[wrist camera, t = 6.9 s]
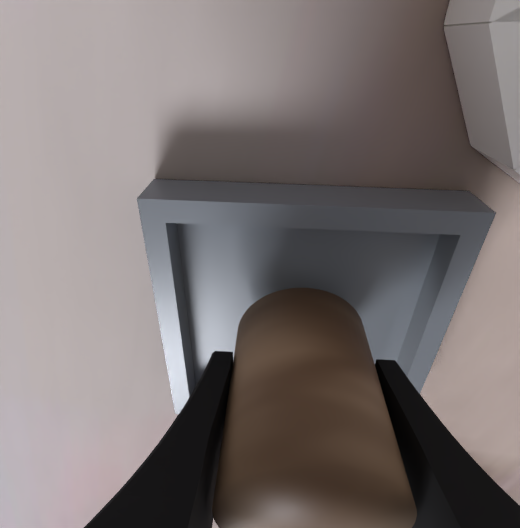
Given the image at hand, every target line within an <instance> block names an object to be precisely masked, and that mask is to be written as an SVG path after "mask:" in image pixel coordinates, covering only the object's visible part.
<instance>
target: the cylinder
mask: <svg viewBox="0 0 520 528" xmlns="http://www.w3.org/2000/svg"><path fill="white" fill-rule="evenodd" d="M212 514H213V518H214V520H215V522H216V523H217V525H218V526H219V528H412V527H413V525H414V523H415V521H416V517H417V509H416V505H415V502H414V498H413V495H412V491H411V488H410V485H409V481H408V478H407V474H406V471H405V467H404V464H403V460H402V457H401V454H400V450H399V447H398V443H397V440H396V436H395V433H394V429H393V426H392V423H391V419H390V416H389V412H388V409H387V405H386V402H385V398H384V395H383V392H382V388H381V385H380V381H379V378H378V374H377V371H376V367H375V364H374V361H373V357H372V354H371V350H370V347H369V343H368V340H367V337H366V333H365V330H364V326H363V323H362V320H361V318H360V316H359V314H358V313H357V311H356V310H355V309H354V308H353V307H352V306H351V305H350V304H349V303H348V302H347V301H345V300H344V299H342V298H341V297H339V296H337V295H335V294H332V293H330V292H327V291H323V290H320V289H314V288H289V289H284V290H280V291H276V292H273V293H271V294H268V295H266V296H264V297H262V298H261V299H259V300H257V301H256V302H255V303H253V304H252V305H251V306H250V307H249V308H248V309H247V310H246V312H245V313H244V314H243V316H242V318H241V320H240V323H239V326H238V331H237V338H236V345H235V352H234V359H233V366H232V373H231V380H230V387H229V394H228V401H227V408H226V415H225V422H224V429H223V436H222V443H221V450H220V457H219V464H218V470H217V477H216V484H215V491H214V498H213V505H212Z"/></svg>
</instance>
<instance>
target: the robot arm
mask: <svg viewBox="0 0 520 528" xmlns="http://www.w3.org/2000/svg"><path fill="white" fill-rule="evenodd" d="M232 366H233V352H227V351H214V352H213V353H212V355H211V357H210V360H209V362H208V364H207V366H206V368H205V370H204V372H203V374H202V376H201V378H200V380H199V382H198V384H197V385H196V387H195V389H194V390H193V392H192V394H191V396H190V397H189V399H188V401H187V402H186V404H185V406H184V407H183V409H182V410H181V412H180V413H179V415H178V416H177V418H176V419H175V421H174V422H173V424H172V425H171V427H170V428H169V430H168V431H167V432H166V434H165V435H164V437H163V438H162V439H161V441H160V442H159V443H158V445H157V446H156V447H155V449H154V450H153V451H152V452H151V454H150V455H149V456H148V458H147V459H146V460H145V461H144V462H143V464H142V465H141V466H140V467H139V468H138V470H137V471H136V472H135V473H134V474H133V476H132V477H131V478H130V479H129V480H128V481H127V483H126V484H125V485H124V486H123V487H122V488H121V489H120V490H119V492H118V493H117V494H116V495H115V496H114V497H113V498H112V499H111V500H110V501H109V502H108V503H107V504H106V505H105V506H104V507H103V508H102V510H101V511H100V512H99V513H98V514H97V515H96V516H95V517H94V518H93V519H92V520H91V521H90V522H89V523H88V524H87V525H86V526H85V527H84V528H212V522H213V514H212V505H213V498H214V491H215V484H216V477H217V470H218V464H219V457H220V450H221V443H222V436H223V429H224V422H225V415H226V408H227V401H228V394H229V387H230V380H231V373H232ZM375 367H376V371H377V374H378V378H379V381H380V385H381V388H382V392H383V395H384V398H385V402H386V405H387V409H388V412H389V416H390V419H391V423H392V426H393V429H394V433H395V436H396V440H397V443H398V447H399V450H400V454H401V457H402V460H403V464H404V467H405V471H406V474H407V478H408V481H409V485H410V488H411V491H412V495H413V498H414V502H415V505H416V509H417V517H416V521H415V523H414V525H413V527H412V528H520V506H519V505H518V504H517V503H516V502H515V501H514V500H513V499H512V498H511V497H510V496H509V495H508V494H507V493H506V492H505V491H504V490H503V489H502V488H501V487H500V486H499V485H498V484H497V483H495V482H494V481H493V479H492V478H491V477H490V476H489V475H488V474H487V473H486V472H485V471H484V470H483V469H482V468H481V467H480V466H479V465H478V464H477V463H476V462H475V461H474V459H473V458H472V457H471V456H470V455H469V454H468V453H467V452H466V451H465V449H464V448H463V447H462V446H461V445H460V444H459V443H458V441H457V440H456V439H455V438H454V437H453V436H452V434H451V433H450V432H449V431H448V430H447V428H446V427H445V426H444V425H443V423H442V422H441V421H440V420H439V418H438V417H437V416H436V415H435V413H434V412H433V411H432V410H431V408H430V407H429V406H428V404H427V403H426V402H425V401H424V399H423V398H422V397H421V395H420V394H419V392H418V391H417V390H416V388H415V387H414V386H413V384H412V383H411V382H410V380H409V379H408V377H407V376H406V375H405V373H404V372H403V370H402V369H401V368H400V366H399V365H398V363H397V362H396V361H395V360H383V359H376V363H375Z"/></svg>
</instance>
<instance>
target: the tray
mask: <svg viewBox="0 0 520 528" xmlns="http://www.w3.org/2000/svg"><path fill="white" fill-rule="evenodd" d="M137 202H138V208H139V213H140V219H141V225H142V230H143V236H144V241H145V247H146V253H147V258H148V264H149V269H150V275H151V281H152V286H153V292H154V297H155V303H156V309H157V314H158V320H159V325H160V331H161V337H162V342H163V348H164V353H165V359H166V365H167V370H168V376H169V381H170V387H171V393H172V398H173V404H174V409H175V413H176V414H179V413H180V412H181V410H182V409H183V407H184V406H185V404H186V402H187V401H188V399H189V397H190V396H191V394H192V392H193V390H194V389H195V387H196V385H197V384H198V382H199V380H200V378H201V376H202V374H203V372H204V370H205V368H206V366H207V364H208V362H209V360H210V357H211V355H212V353H213V352H214V351H227V352H233V359H234V352H235V345H236V338H237V331H238V326H239V323H240V320H241V318H242V316H243V314H244V313H245V312H246V310H247V309H248V308H249V307H250V306H251V305H252V304H253V303H255V302H256V301H257V300H259V299H261V298H262V297H264V296H266V295H268V294H271V293H273V292H276V291H280V290H284V289H289V288H314V289H320V290H323V291H327V292H330V293H332V294H335V295H337V296H339V297H341V298H342V299H344V300H345V301H347V302H348V303H349V304H350V305H351V306H352V307H353V308H354V309H355V310H356V311H357V313H358V314H359V316H360V318H361V320H362V323H363V326H364V330H365V333H366V337H367V340H368V343H369V347H370V350H371V354H372V357H373V361H374V364H375V363H376V359H383V360H395V361H396V362H397V363H398V365H399V366H400V368H401V369H402V370H403V372H404V373H405V375H406V376H407V377H408V379H409V380H410V382H411V383H412V384H413V386H414V387H415V388H416V390H417V391H418V392H419V394H420V392H421V389H422V387H423V385H424V382H425V380H426V378H427V375H428V373H429V371H430V368H431V366H432V363H433V361H434V359H435V356H436V354H437V352H438V349H439V347H440V344H441V342H442V340H443V337H444V335H445V333H446V330H447V328H448V326H449V323H450V321H451V318H452V316H453V314H454V311H455V309H456V307H457V304H458V302H459V299H460V297H461V295H462V292H463V290H464V288H465V285H466V283H467V281H468V278H469V276H470V273H471V271H472V269H473V266H474V264H475V262H476V259H477V257H478V255H479V252H480V250H481V247H482V245H483V243H484V240H485V238H486V236H487V233H488V231H489V228H490V226H491V224H492V221H493V219H494V217H495V214H496V212H494V211H493V210H492V209H491V208H489V207H488V206H487V205H486V204H485V203H483V202H482V201H481V200H480V199H478V198H477V197H476V196H475V195H473V194H472V193H471V192H470V191H455V190H429V189H403V188H376V187H350V186H324V185H298V184H271V183H245V182H219V181H193V180H166V179H154V180H153V181H152V182H151V183H150V184H149V185H148V187H147V188H146V189H145V190H144V191H143V192H142V193H141V194H140V196H139V197H138V198H137Z"/></svg>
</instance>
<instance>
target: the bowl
mask: <svg viewBox="0 0 520 528" xmlns="http://www.w3.org/2000/svg"><path fill="white" fill-rule="evenodd" d="M444 25H446V26H444V32H445V36H446V40H447V45H448V49H449V54H450V58H451V62H452V67H453V71H454V76H455V80H456V84H457V89H458V93H459V98H460V102H461V106H462V111H463V115H464V119H465V124H466V128H467V133H468V137H469V141H470V145H471V146H472V147H473V148H474V149H476V150H477V151H478V152H479V153H481V154H482V155H483V156H485V157H486V158H487V159H489V160H490V161H491V162H492V163H494V164H495V165H496V166H498V167H499V168H500V169H502V170H503V171H504V172H505V173H507V174H508V175H509V176H511V177H512V178H513V179H515V180H516V181H517V182H518V183H520V0H450V1H449V5H448V9H447V13H446V17H445V21H444Z"/></svg>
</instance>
